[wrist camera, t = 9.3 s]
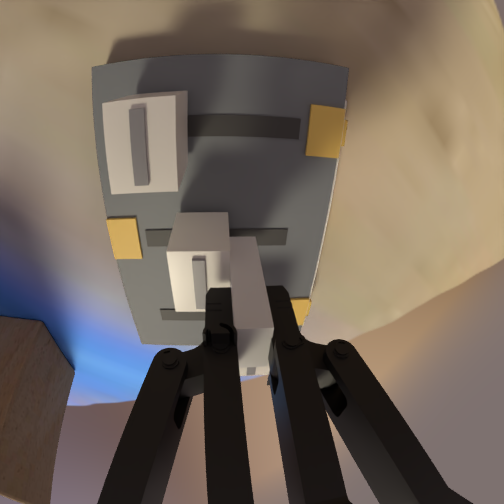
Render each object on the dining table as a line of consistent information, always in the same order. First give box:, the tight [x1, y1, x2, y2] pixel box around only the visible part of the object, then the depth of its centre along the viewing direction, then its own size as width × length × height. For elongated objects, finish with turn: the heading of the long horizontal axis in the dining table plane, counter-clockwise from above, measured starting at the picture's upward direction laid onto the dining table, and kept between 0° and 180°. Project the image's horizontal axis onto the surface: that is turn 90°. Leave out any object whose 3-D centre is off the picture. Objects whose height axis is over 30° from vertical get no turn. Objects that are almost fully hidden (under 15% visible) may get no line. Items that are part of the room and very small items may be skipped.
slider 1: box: [102, 91, 188, 194], centre depth 12 cm, size 3×4×4 cm
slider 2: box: [166, 212, 230, 312], centre depth 16 cm, size 3×4×4 cm
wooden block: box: [0, 316, 75, 504], centre depth 18 cm, size 10×10×20 cm
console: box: [92, 54, 349, 345], centre depth 19 cm, size 14×22×2 cm, turn 177°
